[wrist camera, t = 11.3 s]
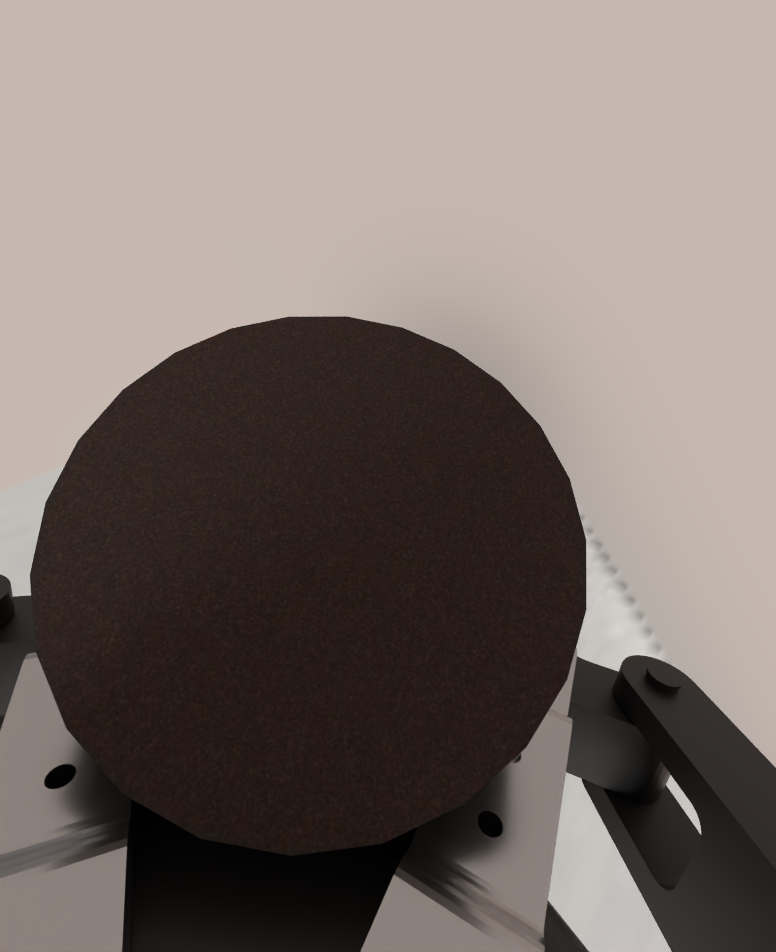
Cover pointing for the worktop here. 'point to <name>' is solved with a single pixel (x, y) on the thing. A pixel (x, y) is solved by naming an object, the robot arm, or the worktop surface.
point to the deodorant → (308, 584)
